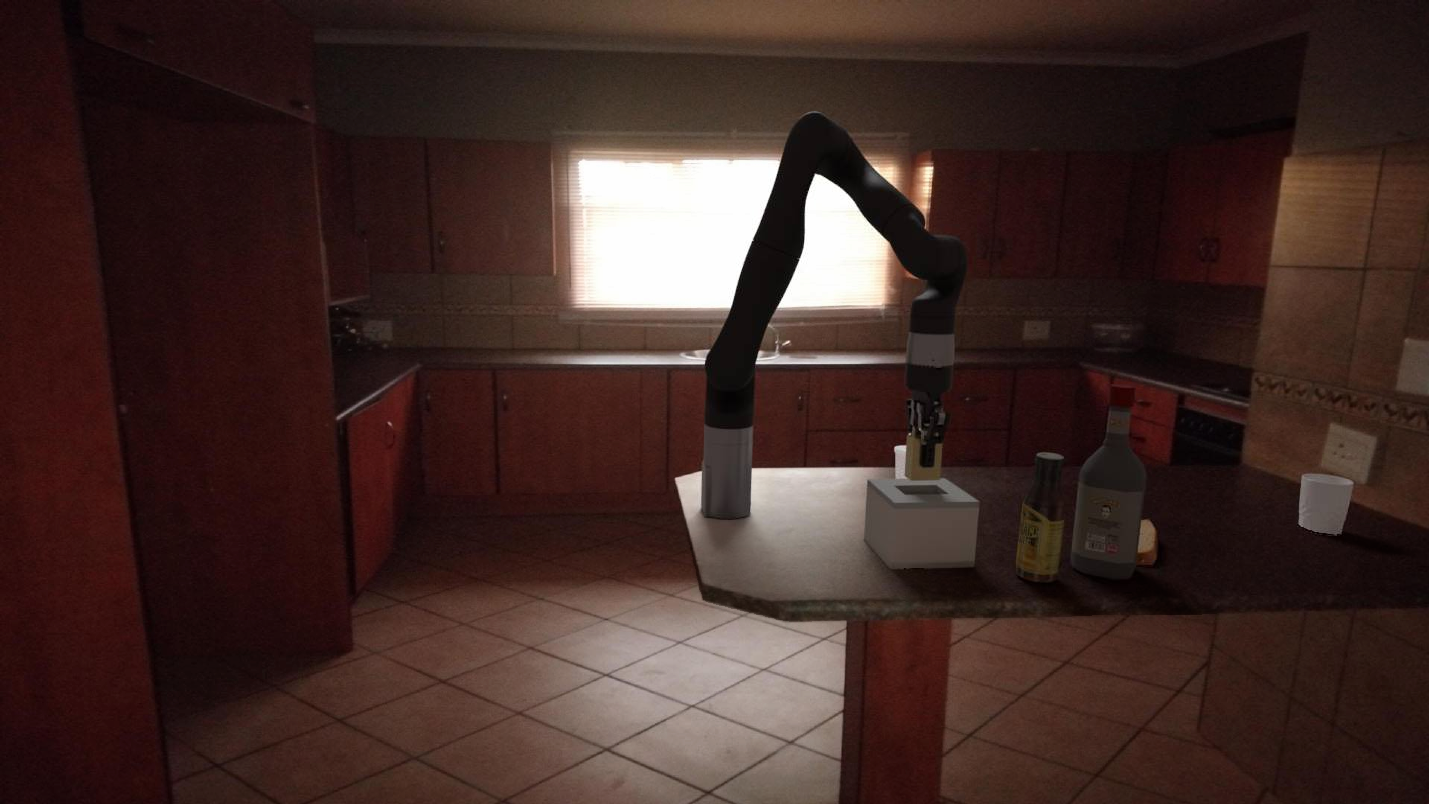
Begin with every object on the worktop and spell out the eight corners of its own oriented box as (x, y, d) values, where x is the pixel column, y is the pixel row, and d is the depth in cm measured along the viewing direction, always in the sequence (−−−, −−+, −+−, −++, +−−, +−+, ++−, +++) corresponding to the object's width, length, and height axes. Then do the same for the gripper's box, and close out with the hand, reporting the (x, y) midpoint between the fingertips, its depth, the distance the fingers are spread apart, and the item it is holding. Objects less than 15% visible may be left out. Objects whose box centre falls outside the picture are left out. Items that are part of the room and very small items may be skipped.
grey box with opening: (890, 569, 133) (894, 502, 131) (864, 539, 146) (867, 479, 144) (974, 567, 134) (979, 501, 133) (940, 538, 148) (944, 478, 146)
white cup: (1339, 527, 160) (1347, 476, 158) (1350, 539, 153) (1359, 486, 151) (1290, 521, 163) (1298, 471, 161) (1298, 532, 156) (1306, 481, 154)
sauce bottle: (1008, 570, 134) (1018, 449, 130) (1045, 569, 134) (1057, 449, 131) (1026, 586, 127) (1038, 459, 124) (1065, 585, 128) (1078, 459, 124)
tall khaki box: (910, 480, 137) (913, 438, 135) (904, 475, 139) (906, 435, 138) (940, 480, 137) (942, 438, 136) (933, 475, 140) (935, 434, 139)
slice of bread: (1137, 570, 136) (1140, 548, 135) (1050, 536, 152) (1052, 516, 151) (1209, 555, 143) (1212, 535, 143) (1119, 524, 159) (1121, 505, 159)
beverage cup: (923, 493, 176) (928, 428, 174) (894, 492, 176) (898, 428, 174) (917, 485, 182) (921, 423, 180) (889, 485, 182) (893, 422, 180)
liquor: (1130, 583, 129) (1152, 392, 124) (1067, 571, 134) (1086, 386, 129) (1136, 566, 137) (1158, 385, 131) (1077, 554, 141) (1095, 379, 136)
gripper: (892, 355, 141) (887, 454, 144) (923, 366, 128) (916, 476, 131) (935, 355, 142) (928, 454, 145) (970, 366, 129) (962, 475, 132)
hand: (923, 463), depth 138 cm, fingers closed on tall khaki box, 3 cm apart
